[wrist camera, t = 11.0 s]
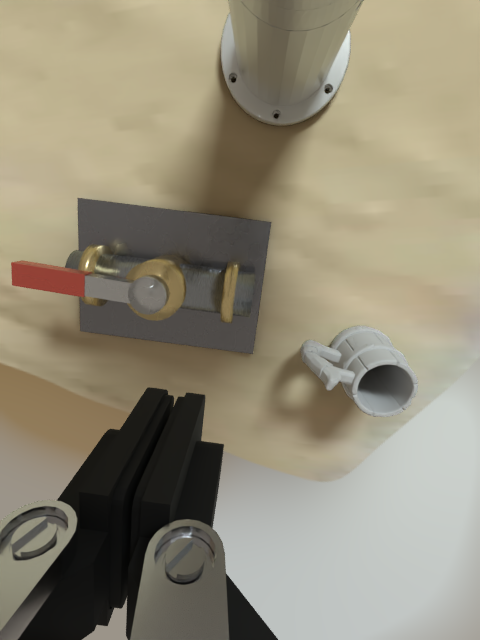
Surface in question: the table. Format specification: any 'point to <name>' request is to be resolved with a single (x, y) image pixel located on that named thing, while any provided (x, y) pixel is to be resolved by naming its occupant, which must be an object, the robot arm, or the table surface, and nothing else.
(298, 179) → the table surface
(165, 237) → the valve body
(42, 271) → the lever
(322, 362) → the mug
